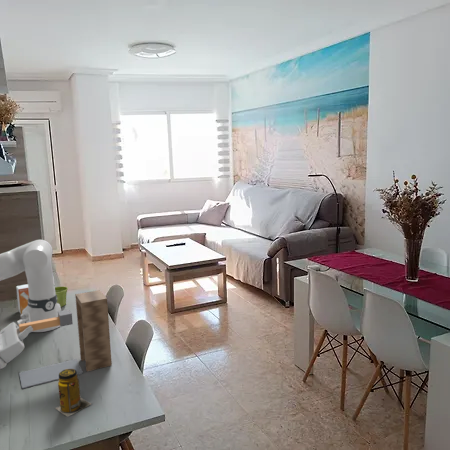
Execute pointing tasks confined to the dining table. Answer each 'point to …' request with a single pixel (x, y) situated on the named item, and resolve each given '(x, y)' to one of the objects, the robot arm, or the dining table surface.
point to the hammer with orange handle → (50, 321)
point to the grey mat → (47, 373)
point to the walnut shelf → (93, 329)
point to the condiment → (70, 393)
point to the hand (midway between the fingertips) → (31, 325)
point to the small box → (22, 297)
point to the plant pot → (61, 295)
